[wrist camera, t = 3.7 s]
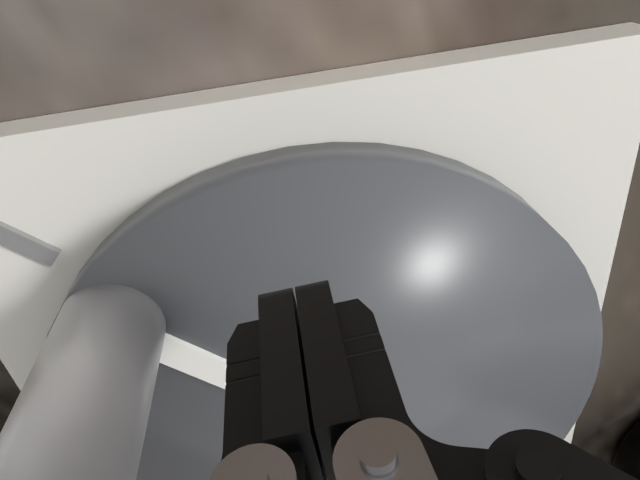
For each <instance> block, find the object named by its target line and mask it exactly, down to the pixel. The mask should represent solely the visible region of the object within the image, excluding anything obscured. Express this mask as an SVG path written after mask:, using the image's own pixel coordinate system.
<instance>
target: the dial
mask: <svg viewBox="0 0 640 480" xmlns="http://www.w3.org/2000/svg"><path fill="white" fill-rule="evenodd" d="M325 280H328V282H329V286H330V290H331V294H332V298H333V303H338V302H343V301H347V300H352V299H357V298H358V299H359V300H360V301H361V302H362V303H363V304H365V305H366V306H367V307H368V308H369V309H370V310H371V311H372V312H373V314H374V317H375V320H376V323H377V326H378V329H379V332H380V335H381V338H382V341H383V344H384V347H385V351H386V353H387V356H388V359H389V361H390V364H391V367H392V370H393V373H394V376H395V379H396V382H397V385H398V388H399V391H400V394H401V397H402V400H403V403H404V406H405V409H406V412H407V414H408V416H409V418H410V420H411V421H412V423H413V424H414V425H415V426H416V427H417V428H418V429H419V430H420V431H421V432H422V433H423V434H425V435H426V436H428V437H430V438H431V439H434V440H436V441H438V442H441V443H444V444H448V445H453V446H461V447H472V448H483V449H489V447H490V445H491V444H492V443H493V442H494V441H495V440H496V439H497V438H499V437H500V436H501V435H503V434H505V433H507V432H510V431H514V430H520V429H534V430H539V431H544V432H547V433H550V434H553V435H555V436H557V437H559V438H561V439H563V440H564V439H565V437H566V436H567V434H568V433H569V431H570V430H571V428H572V427H573V425H574V424H575V422H576V421H577V419H578V418H579V416H580V414H581V412H582V410H583V408H584V406H585V404H586V402H587V400H588V398H589V396H590V394H591V392H592V389H593V386H594V383H595V380H596V377H597V373H598V370H599V365H600V359H601V352H602V346H603V332H602V316H601V311H600V306H599V302H598V297H597V293H596V290H595V288H594V286H593V284H592V281H591V279H590V277H589V275H588V272H587V270H586V268H585V266H584V265H583V263H582V262H581V260H580V259H579V258H578V256H577V255H576V253H575V252H574V250H573V249H572V248H571V246H570V245H569V243H568V242H567V241H566V240H565V239H564V238H563V237H562V236H561V235H560V234H559V233H558V232H557V231H556V230H555V229H554V228H553V227H552V226H551V225H549V224H548V223H547V222H546V221H545V220H544V219H543V218H542V217H541V216H540V215H539V214H538V213H537V212H536V211H535V210H534V209H533V208H532V207H531V206H530V205H529V204H528V203H527V202H526V201H525V200H524V199H523V198H522V197H521V196H520V195H518V194H517V193H515V192H514V191H512V190H511V189H509V188H508V187H506V186H505V185H503V184H502V183H500V182H499V181H498V180H496V179H495V178H493V177H492V176H490V175H487V174H485V173H483V172H481V171H479V170H477V169H475V168H473V167H470V166H468V165H466V164H464V163H462V162H460V161H458V160H454V159H451V158H448V157H444V156H441V155H438V154H434V153H431V152H428V151H424V150H421V149H415V148H409V147H403V146H396V145H390V144H384V143H370V142H325V143H316V144H306V145H296V146H288V147H283V148H279V149H275V150H270V151H266V152H261V153H257V154H253V155H248V156H244V157H241V158H239V159H236V160H233V161H230V162H228V163H225V164H222V165H220V166H217V167H214V168H211V169H209V170H206V171H203V172H201V173H199V174H197V175H195V176H193V177H191V178H189V179H187V180H185V181H184V182H182V183H180V184H178V185H176V186H174V187H172V188H170V189H168V190H166V191H164V192H163V193H161V194H160V195H158V196H157V197H156V198H154V199H153V200H151V201H150V202H148V203H147V204H146V205H144V206H143V207H141V208H140V209H139V210H137V211H136V212H134V213H133V214H131V215H130V216H129V217H128V218H127V219H126V220H125V221H124V222H123V223H121V224H120V225H119V226H118V227H117V228H116V229H115V230H114V231H113V232H112V233H111V234H110V235H109V236H108V237H107V238H106V239H105V240H104V241H103V242H101V244H100V245H99V246H98V248H97V249H96V250H95V252H94V253H93V254H92V255H91V257H90V258H89V259H88V261H87V262H86V263H85V265H84V266H83V267H82V269H81V270H80V271H79V273H78V275H77V277H76V279H75V281H74V282H73V284H72V286H71V288H70V290H69V292H68V294H67V296H66V298H65V300H64V302H63V304H62V306H61V308H60V310H59V312H58V314H57V316H56V318H55V320H54V322H53V324H52V326H51V328H50V330H49V332H48V334H47V338H46V340H45V343H44V345H43V347H42V349H41V351H40V353H39V355H38V357H37V359H36V361H35V363H34V365H33V367H32V369H31V371H30V373H29V375H28V377H27V379H26V382H25V384H24V386H23V388H22V390H21V392H20V394H19V396H18V398H17V400H16V402H15V404H14V406H13V408H12V410H11V412H10V414H9V416H8V418H7V420H6V423H5V425H4V427H3V429H2V431H1V433H0V480H209V478H210V475H211V474H212V472H213V470H214V469H215V468H216V466H217V465H218V464H219V463H220V462H221V459H222V452H223V431H224V407H225V386H226V368H227V365H226V360H227V343H228V341H229V340H230V338H231V336H232V334H233V332H234V330H235V328H236V327H237V325H238V324H241V323H245V322H250V321H255V320H259V316H258V295H260V294H265V293H269V292H274V291H279V290H283V289H288V288H292V289H293V292H294V296H295V299H296V294H295V287H297V286H301V285H306V284H311V283H316V282H320V281H325ZM296 303H297V301H296Z"/></svg>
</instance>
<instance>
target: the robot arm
mask: <svg viewBox="0 0 640 480" xmlns="http://www.w3.org/2000/svg"><path fill="white" fill-rule="evenodd" d="M295 294H296V299H295V296H294V292H293V289H292V288H288V289H283V290H279V291H274V292H269V293H265V294H260V295H258V316H259V320H255V321H250V322H245V323H241V324H238V325H237V327H236V328H235V330H234V332H233V334H232V336H231V338H230V340H229V341H228V343H227V360H226V365H227V368H226V386H225V407H224V431H223V452H222V459H221V462H220V463H219V464H218V465H217V466H216V468H215V469H214V470H213V472H212V474H211V475H210V478H209V480H638V479H636V478H634V477H633V476H631V475H629V474H627V473H625V472H623V471H621V470H619V469H617V468H616V467H614V466H612V465H610V464H608V463H606V462H604V461H602V460H601V459H599V458H597V457H595V456H593V455H591V454H589V453H587V452H585V451H584V450H582V449H580V448H578V447H576V446H574V445H572V444H570V443H569V442H567V441H565V440H563V439H561V438H559V437H557V436H555V435H553V434H550V433H547V432H544V431H539V430H534V429H520V430H514V431H510V432H507V433H505V434H503V435H501V436H500V437H499V438H497V439H496V440H495V441H494V442H493V443H492V444H491V445H490V447H489V449H483V448H472V447H461V446H453V445H448V444H444V443H441V442H438V441H436V440H434V439H431V438H430V437H428V436H426V435H425V434H423V433H422V432H421V431H420V430H419V429H418V428H417V427H416V426H415V425H414V424H413V423H412V421H411V420H410V418H409V416H408V414H407V412H406V409H405V406H404V403H403V400H402V397H401V394H400V391H399V388H398V385H397V382H396V379H395V376H394V373H393V370H392V367H391V364H390V361H389V359H388V356H387V353H386V351H385V347H384V344H383V341H382V338H381V335H380V332H379V329H378V326H377V323H376V320H375V317H374V314H373V312H372V311H371V310H370V309H369V308H368V307H367V306H366V305H365V304H363V303H362V302H361V301H360V300H359V299H358V298H357V299H352V300H347V301H343V302H338V303H333V298H332V294H331V290H330V286H329V282H328V280H325V281H320V282H316V283H311V284H306V285H301V286H297V287H295ZM296 301H297V303H296Z"/></svg>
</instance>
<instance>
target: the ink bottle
mask: <svg viewBox="0 0 640 480" xmlns="http://www.w3.org/2000/svg"><path fill="white" fill-rule="evenodd" d="M613 466H614V467H616V468H617V469H619V470H621V471H623V472H625V473H627V474H629V475H631V476H633V477H634V478H636V479H638V480H640V420H639V421H638V422H637V423H636V424H635V425H634V426H633V427H632V429H631V430H630V431H629V432H628V433H627V434H626V436H625V437H624V439H623V440H622V441H621V443H620V445H619V447H618V448H617V451H616V453H615V456H614V460H613Z"/></svg>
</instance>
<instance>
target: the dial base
mask: <svg viewBox="0 0 640 480" xmlns="http://www.w3.org/2000/svg"><path fill="white" fill-rule="evenodd" d="M325 142H370V143H384V144H390V145H396V146H403V147H409V148H415V149H421V150H424V151H428V152H431V153H434V154H438V155H441V156H444V157H448V158H451V159H454V160H458V161H460V162H462V163H464V164H466V165H468V166H470V167H473V168H475V169H477V170H479V171H481V172H483V173H485V174H487V175H490V176H492V177H493V178H495V179H496V180H498V181H499V182H500V183H502V184H503V185H505V186H506V187H508V188H509V189H511V190H512V191H514V192H515V193H517V194H518V195H520V196H521V197H522V198H523V199H524V200H525V201H526V202H527V203H528V204H529V205H530V206H531V207H532V208H533V209H534V210H535V211H536V212H537V213H538V214H539V215H540V216H541V217H542V218H543V219H544V220H545V221H546V222H547V223H548V224H549V225H551V226H552V227H553V228H554V229H555V230H556V231H557V232H558V233H559V234H560V235H561V236H562V237H563V238H564V239H565V240H566V241H567V242H568V243H569V245H570V246H571V248H572V249H573V250H574V252H575V253H576V255H577V256H578V258H579V259H580V260H581V262H582V263H583V265H584V266H585V268H586V270H587V272H588V275H589V277H590V279H591V281H592V284H593V286H594V288H595V290H596V293H597V297H598V302H599V306H600V311H601V310H602V305H603V301H604V297H605V292H606V288H607V283H608V279H609V275H610V270H611V266H612V261H613V257H614V253H615V248H616V244H617V239H618V235H619V231H620V226H621V222H622V218H623V213H624V209H625V204H626V200H627V196H628V191H629V187H630V182H631V178H632V174H633V169H634V165H635V160H636V156H637V152H638V147H639V143H640V24H637V23H633V22H628V23H622V24H616V25H610V26H603V27H597V28H591V29H585V30H578V31H572V32H566V33H559V34H553V35H547V36H541V37H534V38H528V39H522V40H515V41H509V42H503V43H497V44H490V45H484V46H478V47H472V48H465V49H459V50H453V51H446V52H440V53H434V54H428V55H421V56H415V57H409V58H402V59H396V60H390V61H384V62H377V63H371V64H365V65H359V66H352V67H346V68H340V69H333V70H327V71H321V72H315V73H308V74H302V75H296V76H290V77H283V78H277V79H271V80H264V81H258V82H252V83H246V84H239V85H233V86H227V87H220V88H214V89H208V90H202V91H195V92H189V93H183V94H177V95H170V96H164V97H158V98H151V99H145V100H139V101H133V102H126V103H120V104H114V105H107V106H101V107H95V108H89V109H82V110H76V111H70V112H64V113H57V114H51V115H45V116H38V117H32V118H26V119H20V120H13V121H7V122H1V123H0V360H1V361H2V363H3V364H4V366H5V367H6V369H7V371H8V372H9V374H10V375H11V377H12V378H13V380H14V381H15V383H16V384H17V386H18V388H19V389H20V391H21V390H22V388H23V386H24V384H25V382H26V379H27V377H28V375H29V373H30V371H31V369H32V367H33V365H34V363H35V361H36V359H37V357H38V355H39V353H40V351H41V349H42V347H43V345H44V343H45V340H46V338H47V334H48V332H49V330H50V328H51V326H52V324H53V322H54V320H55V318H56V316H57V314H58V312H59V310H60V308H61V306H62V304H63V302H64V300H65V298H66V296H67V294H68V292H69V290H70V288H71V286H72V284H73V282H74V281H75V279H76V277H77V275H78V273H79V271H80V270H81V269H82V267H83V266H84V265H85V263H86V262H87V261H88V259H89V258H90V257H91V255H92V254H93V253H94V252H95V250H96V249H97V248H98V246H99V245H100V244H101V242H103V241H104V240H105V239H106V238H107V237H108V236H109V235H110V234H111V233H112V232H113V231H114V230H115V229H116V228H117V227H118V226H119V225H120V224H121V223H123V222H124V221H125V220H126V219H127V218H128V217H129V216H130V215H131V214H133V213H134V212H136V211H137V210H139V209H140V208H141V207H143V206H144V205H146V204H147V203H148V202H150V201H151V200H153V199H154V198H156V197H157V196H158V195H160V194H161V193H163V192H164V191H166V190H168V189H170V188H172V187H174V186H176V185H178V184H180V183H182V182H184V181H185V180H187V179H189V178H191V177H193V176H195V175H197V174H199V173H201V172H203V171H206V170H209V169H211V168H214V167H217V166H220V165H222V164H225V163H228V162H230V161H233V160H236V159H239V158H241V157H244V156H248V155H253V154H257V153H261V152H266V151H270V150H275V149H279V148H283V147H288V146H296V145H306V144H316V143H325ZM575 424H576V422H575ZM575 424H574V425H573V427H572V428H571V430H570V431H569V433H568V434H567V436H566V437H565V439H564V440H565V441H567V442H569V443H570V444H571V441H572V437H573V433H574V428H575Z"/></svg>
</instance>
